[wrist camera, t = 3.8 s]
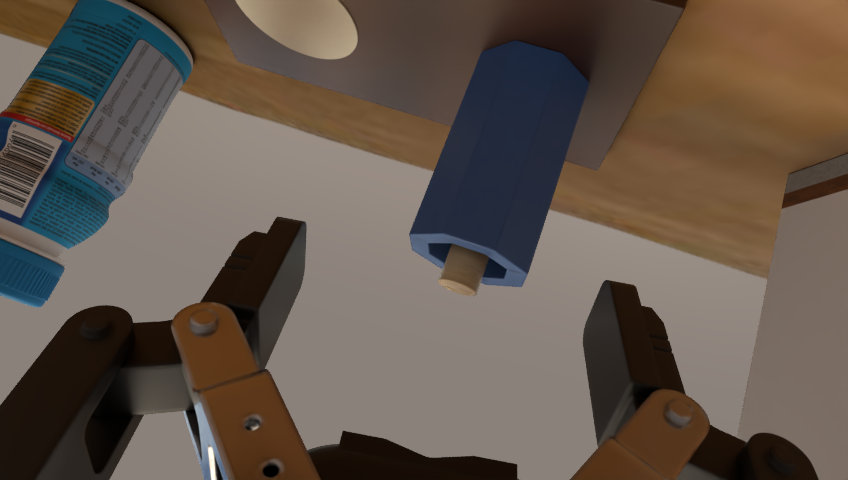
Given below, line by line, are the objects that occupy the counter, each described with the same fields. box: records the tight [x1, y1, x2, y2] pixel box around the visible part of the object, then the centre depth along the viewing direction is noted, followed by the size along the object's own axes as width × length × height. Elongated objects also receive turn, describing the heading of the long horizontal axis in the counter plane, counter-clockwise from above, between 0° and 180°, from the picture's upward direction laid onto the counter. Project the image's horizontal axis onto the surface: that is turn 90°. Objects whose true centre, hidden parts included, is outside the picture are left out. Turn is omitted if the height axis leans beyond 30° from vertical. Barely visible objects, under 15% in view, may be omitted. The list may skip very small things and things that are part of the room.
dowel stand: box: [204, 0, 687, 296], centre depth 29 cm, size 24×14×12 cm, turn 91°
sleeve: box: [409, 40, 589, 287], centre depth 28 cm, size 5×5×10 cm
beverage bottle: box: [0, 0, 193, 307], centre depth 40 cm, size 8×8×20 cm
